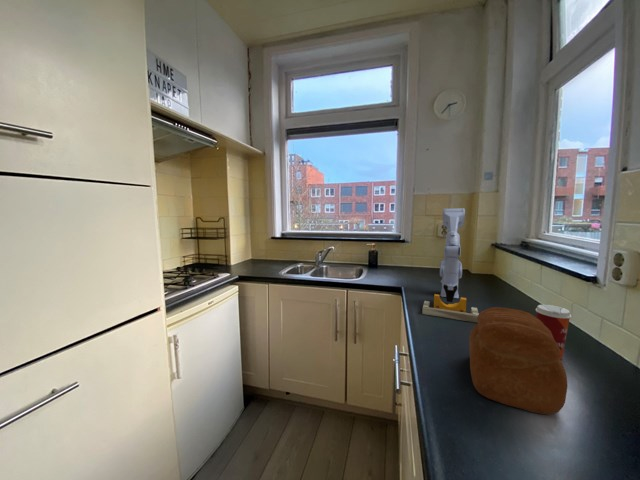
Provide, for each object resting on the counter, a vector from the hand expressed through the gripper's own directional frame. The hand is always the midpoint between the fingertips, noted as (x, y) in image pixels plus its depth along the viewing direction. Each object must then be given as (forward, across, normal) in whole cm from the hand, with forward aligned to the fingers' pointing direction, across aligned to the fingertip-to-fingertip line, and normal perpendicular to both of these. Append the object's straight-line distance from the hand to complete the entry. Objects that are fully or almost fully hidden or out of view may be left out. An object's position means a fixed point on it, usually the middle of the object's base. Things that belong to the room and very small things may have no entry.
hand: (449, 301), depth 116 cm
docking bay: (+1, +12, 0) cm, 12 cm away
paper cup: (+2, +34, +26) cm, 43 cm away
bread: (+2, +54, +13) cm, 55 cm away
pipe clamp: (+2, +8, 0) cm, 8 cm away
